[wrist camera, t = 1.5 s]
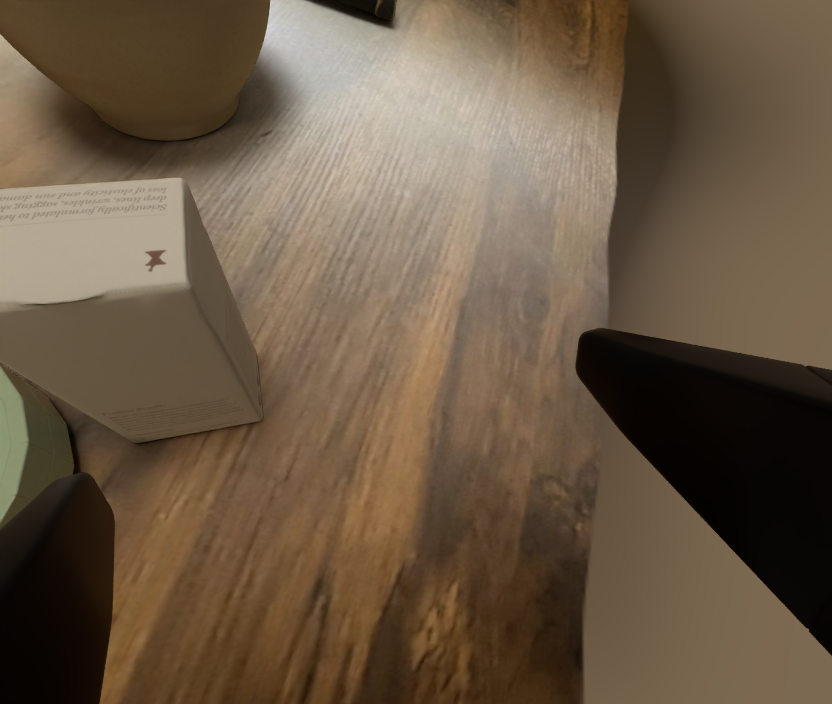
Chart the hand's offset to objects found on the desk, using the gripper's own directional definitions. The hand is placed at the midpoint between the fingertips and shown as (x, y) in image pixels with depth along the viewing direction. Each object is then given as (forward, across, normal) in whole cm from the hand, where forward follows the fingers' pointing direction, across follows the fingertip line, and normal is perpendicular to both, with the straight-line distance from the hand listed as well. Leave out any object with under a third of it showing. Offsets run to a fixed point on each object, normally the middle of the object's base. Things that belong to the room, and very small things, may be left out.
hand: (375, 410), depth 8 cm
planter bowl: (+34, +4, -5) cm, 35 cm away
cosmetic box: (+15, +6, +8) cm, 18 cm away
